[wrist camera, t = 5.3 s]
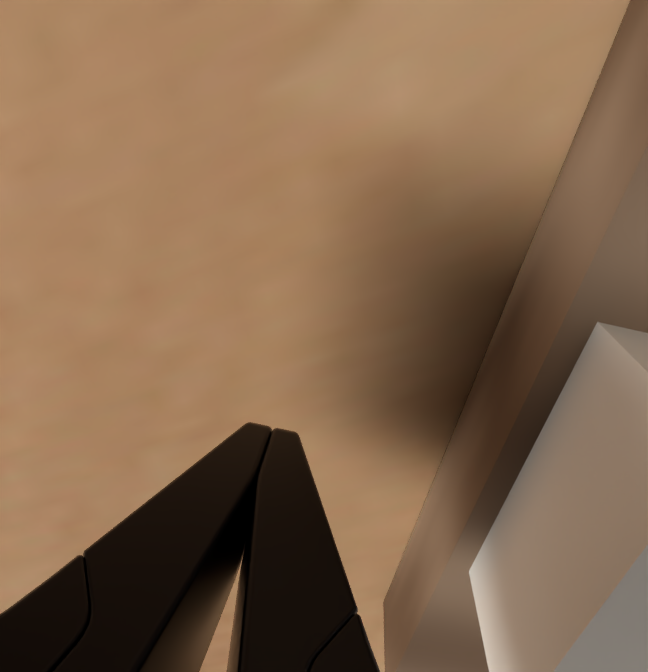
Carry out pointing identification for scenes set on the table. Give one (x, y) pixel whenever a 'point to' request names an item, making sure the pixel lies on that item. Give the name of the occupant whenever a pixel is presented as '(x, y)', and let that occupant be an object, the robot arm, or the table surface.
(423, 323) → the table surface
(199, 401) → the table surface
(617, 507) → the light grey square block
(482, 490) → the brown wooden board
